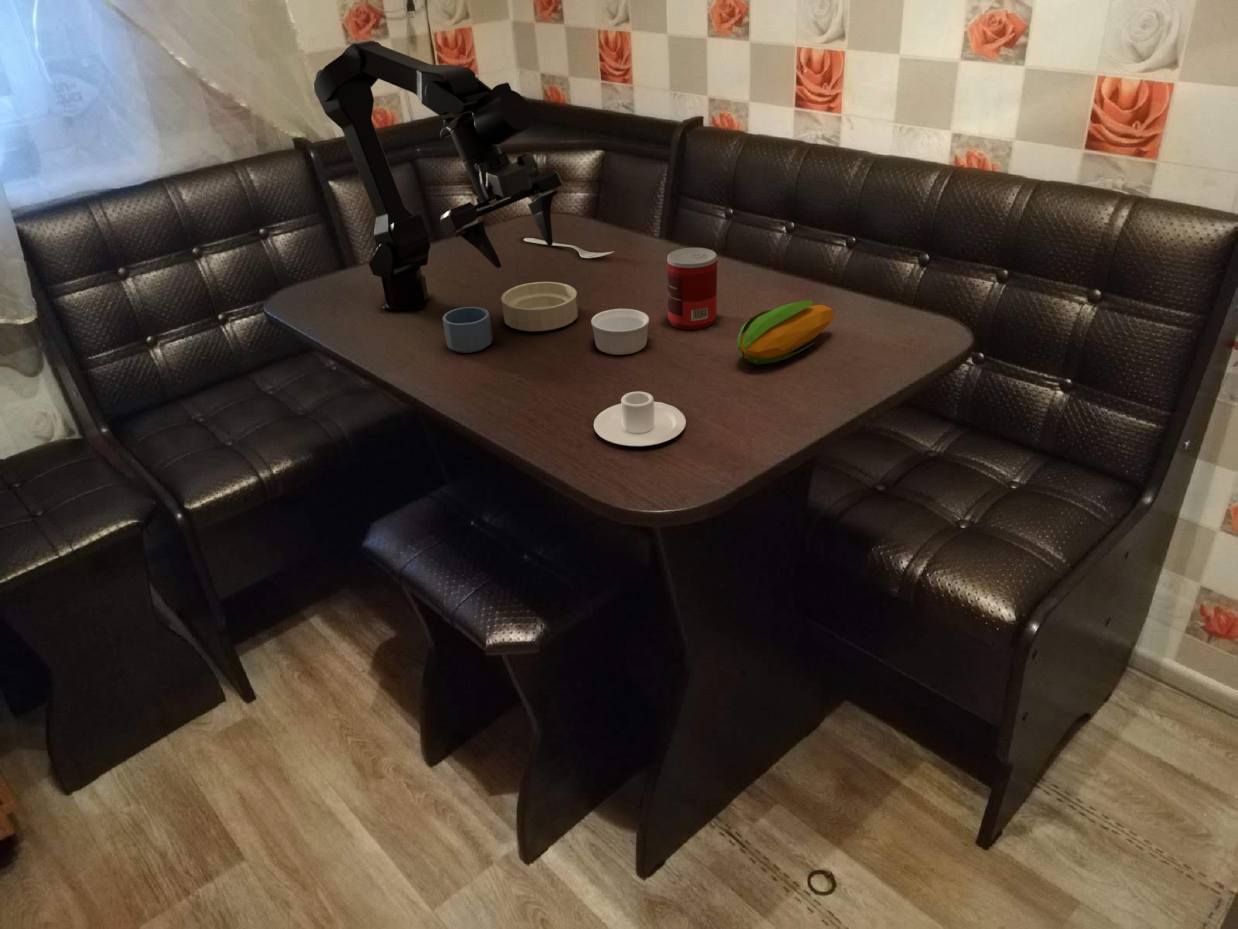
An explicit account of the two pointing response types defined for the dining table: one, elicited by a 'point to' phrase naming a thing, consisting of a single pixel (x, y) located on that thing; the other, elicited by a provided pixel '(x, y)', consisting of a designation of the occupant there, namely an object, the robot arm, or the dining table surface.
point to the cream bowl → (539, 306)
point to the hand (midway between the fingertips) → (525, 256)
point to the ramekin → (620, 331)
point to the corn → (782, 331)
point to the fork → (581, 252)
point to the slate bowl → (467, 329)
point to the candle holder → (639, 421)
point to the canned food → (692, 288)
